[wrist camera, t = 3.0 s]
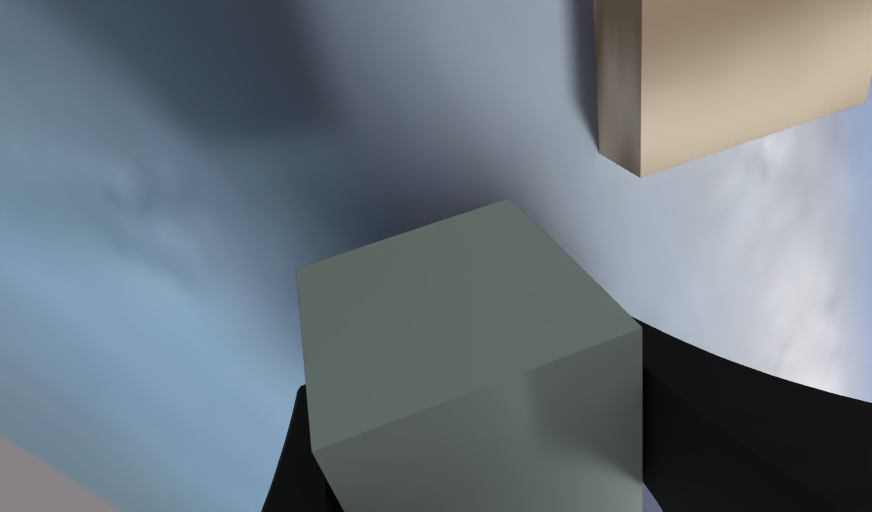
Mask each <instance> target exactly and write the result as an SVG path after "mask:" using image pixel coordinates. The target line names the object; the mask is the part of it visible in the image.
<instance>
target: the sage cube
mask: <svg viewBox="0 0 872 512" xmlns="http://www.w3.org/2000/svg"><path fill="white" fill-rule="evenodd" d="M296 278H297V289H298V301H299V312H300V324H301V335H302V346H303V358H304V369H305V381H306V392H307V404H308V415H309V426H310V438H311V449H312V453H313V455H314V457H315V459H316V461H317V462H318V464H319V466H320V468H321V470H322V472H323V474H324V475H325V477H326V479H327V481H328V483H329V485H330V486H331V488H332V490H333V492H334V494H335V496H336V498H337V499H338V501H339V503H340V505H341V507H342V509H343V511H344V512H642V327H641V326H640V325H639V324H638V323H637V322H636V321H635V320H634V319H633V318H632V317H631V316H630V315H629V314H628V313H627V312H626V311H625V310H624V309H623V308H622V307H621V306H620V305H619V304H618V303H617V302H616V301H615V300H614V299H613V298H612V297H611V296H610V295H609V294H608V293H607V292H606V291H605V290H604V289H603V288H602V287H601V286H600V285H599V284H597V283H596V282H595V281H594V280H593V279H592V278H591V277H590V276H589V275H588V274H587V273H586V272H585V271H584V270H583V269H582V268H581V267H580V266H579V265H578V264H577V263H576V262H575V261H574V260H573V259H572V258H571V257H570V256H569V255H568V254H567V253H566V252H565V251H564V250H563V249H562V248H561V247H560V246H559V245H558V244H557V243H556V242H555V241H554V240H553V239H552V238H551V237H550V236H549V235H548V234H547V233H546V232H545V231H543V230H542V229H541V228H540V227H539V226H538V225H537V224H536V223H535V222H534V221H533V220H532V219H531V218H530V217H529V216H528V215H527V214H526V213H525V212H524V211H523V210H522V209H521V208H520V207H519V206H518V205H517V204H516V203H515V202H514V201H513V200H512V199H511V198H508V199H505V200H502V201H499V202H496V203H493V204H490V205H487V206H484V207H481V208H478V209H475V210H472V211H469V212H466V213H463V214H460V215H456V216H453V217H450V218H447V219H444V220H441V221H438V222H435V223H432V224H429V225H426V226H423V227H420V228H417V229H414V230H411V231H408V232H405V233H402V234H399V235H396V236H393V237H390V238H387V239H384V240H381V241H378V242H375V243H372V244H369V245H366V246H363V247H360V248H357V249H354V250H351V251H348V252H345V253H342V254H338V255H335V256H332V257H329V258H326V259H323V260H320V261H317V262H314V263H311V264H308V265H305V266H302V267H299V268H296Z"/></svg>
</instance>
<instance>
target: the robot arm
mask: <svg viewBox="0 0 872 512" xmlns="http://www.w3.org/2000/svg"><path fill="white" fill-rule="evenodd" d="M631 317H632V316H631ZM632 318H633V319H634V320H635V321H636V322H637V323H638V324H639V325H640V326H641V327H642V512H872V403H870V402H865V401H861V400H857V399H853V398H849V397H845V396H841V395H837V394H833V393H830V392H826V391H823V390H819V389H816V388H812V387H809V386H805V385H802V384H798V383H795V382H791V381H788V380H785V379H782V378H779V377H775V376H772V375H769V374H766V373H763V372H761V371H758V370H755V369H752V368H749V367H746V366H744V365H741V364H738V363H735V362H732V361H730V360H727V359H724V358H722V357H719V356H717V355H714V354H712V353H709V352H707V351H705V350H702V349H700V348H698V347H695V346H693V345H691V344H688V343H686V342H684V341H681V340H679V339H677V338H675V337H673V336H670V335H668V334H666V333H664V332H662V331H660V330H658V329H656V328H654V327H652V326H650V325H648V324H645V323H643V322H641V321H639V320H637V319H636V318H634V317H632ZM261 512H344V511H343V509H342V507H341V505H340V503H339V501H338V499H337V498H336V496H335V494H334V492H333V490H332V488H331V486H330V485H329V483H328V481H327V479H326V477H325V475H324V474H323V472H322V470H321V468H320V466H319V464H318V462H317V461H316V459H315V457H314V455H313V453H312V449H311V438H310V426H309V415H308V404H307V392H306V384H305V385H302V386H300V388H299V390H298V391H297V395H296V400H295V405H294V409H293V413H292V417H291V421H290V425H289V429H288V432H287V436H286V439H285V443H284V446H283V450H282V453H281V456H280V459H279V462H278V465H277V469H276V472H275V475H274V478H273V481H272V484H271V487H270V490H269V492H268V495H267V498H266V500H265V503H264V506H263V508H262V511H261Z"/></svg>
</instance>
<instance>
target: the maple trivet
mask: <svg viewBox="0 0 872 512" xmlns="http://www.w3.org/2000/svg"><path fill="white" fill-rule="evenodd" d="M593 8H594V33H595V58H596V83H597V108H598V133H599V154H601V155H603V156H604V157H606V158H608V159H610V160H611V161H613V162H615V163H616V164H618V165H620V166H621V167H623V168H625V169H626V170H628V171H630V172H631V173H633V174H635V175H636V176H638V177H640V178H642V177H645V176H648V175H651V174H654V173H657V172H660V171H663V170H666V169H669V168H672V167H675V166H678V165H681V164H684V163H687V162H690V161H693V160H696V159H699V158H702V157H705V156H708V155H711V154H713V153H716V152H719V151H722V150H725V149H728V148H731V147H734V146H737V145H740V144H743V143H746V142H749V141H752V140H755V139H758V138H761V137H764V136H767V135H770V134H773V133H776V132H779V131H782V130H785V129H788V128H791V127H794V126H797V125H800V124H803V123H806V122H809V121H812V120H815V119H818V118H821V117H824V116H827V115H830V114H833V113H836V112H839V111H842V110H845V109H847V108H850V107H853V106H856V105H859V104H862V103H865V102H866V98H867V94H868V90H869V86H870V82H871V78H872V0H593Z"/></svg>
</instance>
